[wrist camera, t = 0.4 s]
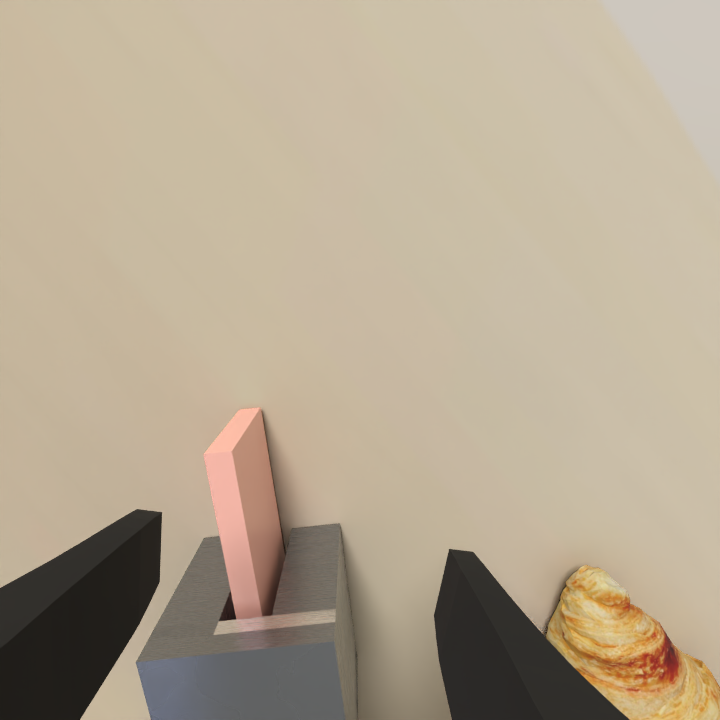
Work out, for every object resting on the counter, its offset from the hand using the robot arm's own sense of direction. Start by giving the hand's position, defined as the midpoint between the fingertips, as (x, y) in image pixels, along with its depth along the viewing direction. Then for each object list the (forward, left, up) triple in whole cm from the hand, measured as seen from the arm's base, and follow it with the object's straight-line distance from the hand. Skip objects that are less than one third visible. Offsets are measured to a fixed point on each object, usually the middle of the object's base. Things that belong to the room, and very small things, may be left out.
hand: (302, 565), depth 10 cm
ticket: (-3, -5, -10) cm, 12 cm away
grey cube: (-3, -9, -10) cm, 14 cm away
